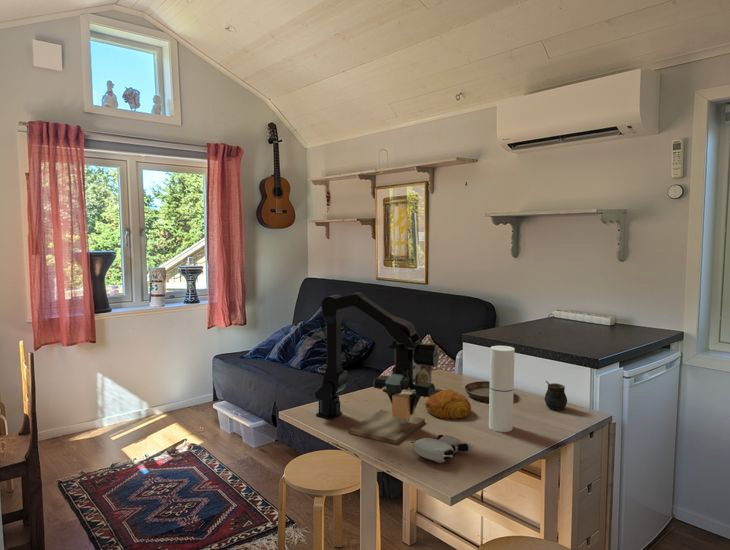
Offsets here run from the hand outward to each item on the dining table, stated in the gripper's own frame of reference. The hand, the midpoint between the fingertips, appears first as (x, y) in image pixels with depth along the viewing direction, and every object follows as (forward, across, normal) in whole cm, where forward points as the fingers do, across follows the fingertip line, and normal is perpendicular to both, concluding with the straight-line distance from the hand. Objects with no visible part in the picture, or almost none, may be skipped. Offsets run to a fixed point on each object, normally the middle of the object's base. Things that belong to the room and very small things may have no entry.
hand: (403, 412), depth 165 cm
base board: (+4, -4, -3) cm, 7 cm away
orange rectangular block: (+1, 0, 0) cm, 1 cm away
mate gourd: (+5, +37, +42) cm, 56 cm away
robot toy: (+5, +18, -13) cm, 23 cm away
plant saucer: (+5, +13, +44) cm, 46 cm away
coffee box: (+5, -13, +38) cm, 40 cm away
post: (+3, 0, 0) cm, 3 cm away
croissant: (+5, +6, +20) cm, 21 cm away
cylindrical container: (+5, +26, +15) cm, 30 cm away
